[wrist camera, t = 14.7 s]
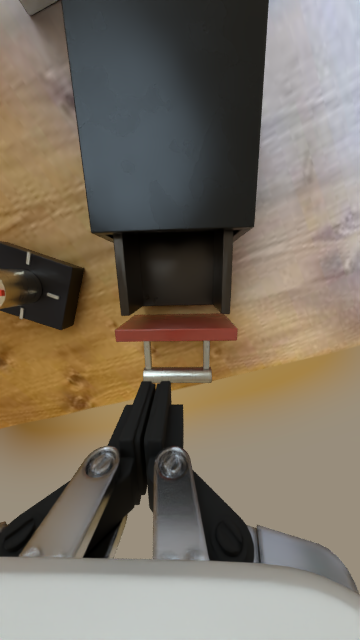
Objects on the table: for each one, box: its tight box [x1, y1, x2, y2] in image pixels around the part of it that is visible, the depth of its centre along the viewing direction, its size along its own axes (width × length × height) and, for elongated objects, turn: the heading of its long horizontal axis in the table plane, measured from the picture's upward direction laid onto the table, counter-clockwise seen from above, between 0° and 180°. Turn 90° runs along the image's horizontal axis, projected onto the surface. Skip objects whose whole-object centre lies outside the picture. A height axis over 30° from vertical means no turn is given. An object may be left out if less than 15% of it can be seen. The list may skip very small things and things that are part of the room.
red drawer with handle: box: [113, 230, 238, 383], centre depth 19 cm, size 18×11×7 cm, turn 1°
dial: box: [0, 269, 42, 309], centre depth 19 cm, size 4×4×5 cm
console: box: [0, 241, 84, 330], centre depth 23 cm, size 10×8×3 cm
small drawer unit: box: [61, 0, 269, 243], centre depth 16 cm, size 15×13×9 cm
